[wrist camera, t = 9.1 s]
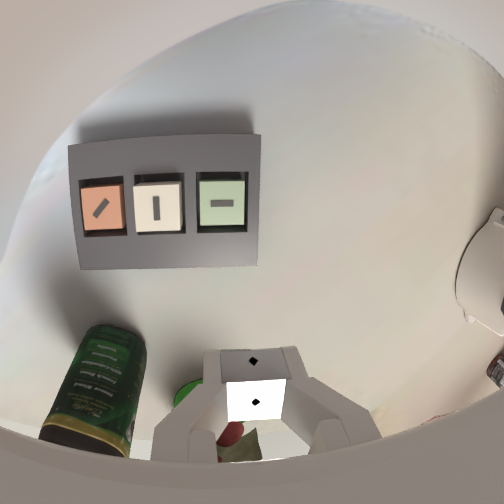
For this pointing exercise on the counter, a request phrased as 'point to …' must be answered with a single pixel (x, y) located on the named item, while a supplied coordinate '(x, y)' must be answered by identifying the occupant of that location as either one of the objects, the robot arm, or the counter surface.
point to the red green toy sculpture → (230, 436)
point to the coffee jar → (99, 394)
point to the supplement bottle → (497, 371)
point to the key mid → (158, 206)
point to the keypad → (189, 172)
